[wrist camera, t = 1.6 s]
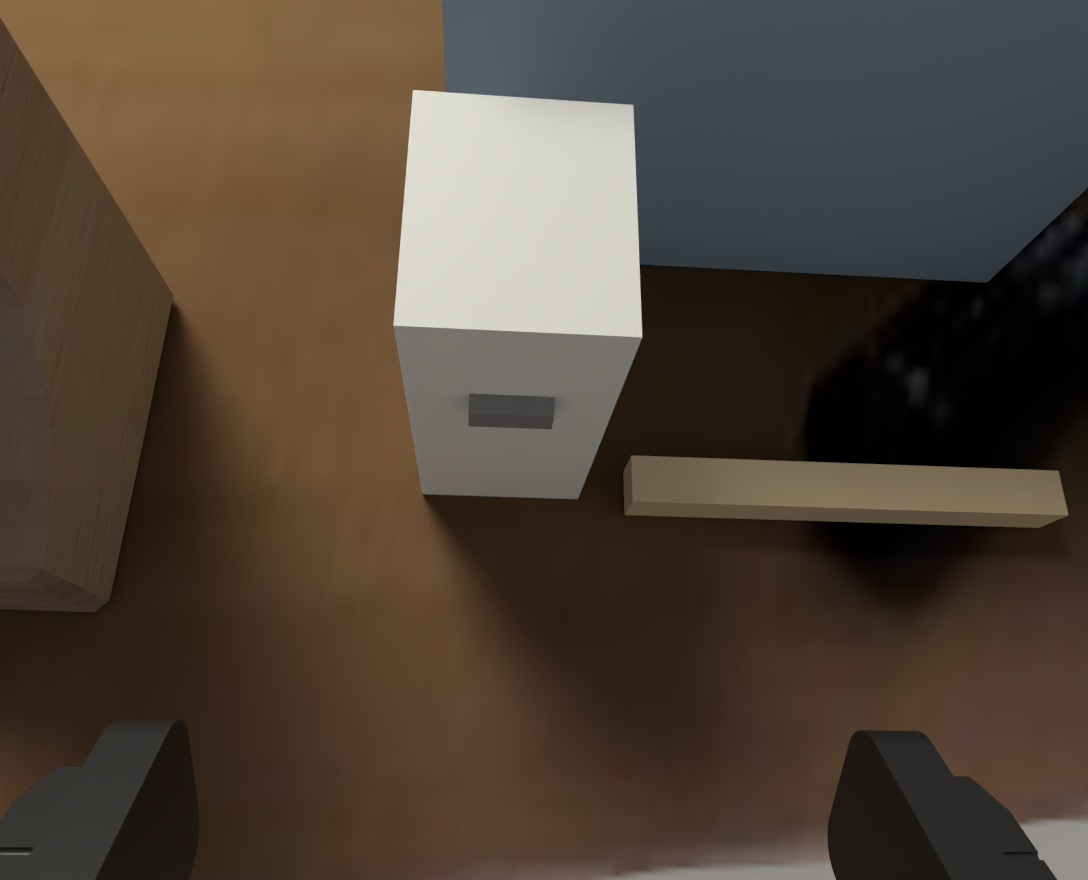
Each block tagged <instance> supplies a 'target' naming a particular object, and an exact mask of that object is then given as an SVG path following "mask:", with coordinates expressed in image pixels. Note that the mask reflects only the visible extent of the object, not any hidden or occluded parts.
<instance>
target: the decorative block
mask: <svg viewBox="0 0 1088 880" xmlns="http://www.w3.org/2000/svg"><path fill="white" fill-rule="evenodd" d="M172 300H173V294H172V292H171V291H170V289H169V287H168V286H167V284H166V283H165V281H164V279H163V278H162V276H161V274H160V273H159V271H158V270H157V268H156V266H155V265H154V263H153V262H152V260H151V258H150V257H149V255H148V253H147V252H146V250H145V249H144V247H143V245H142V244H141V242H140V241H139V239H138V237H137V236H136V234H135V232H134V231H133V229H132V228H131V226H130V224H129V223H128V221H127V220H126V218H125V216H124V215H123V213H122V211H121V210H120V208H119V207H118V205H117V203H116V202H115V200H114V199H113V197H112V195H111V194H110V192H109V191H108V189H107V187H106V186H105V184H104V183H103V181H102V180H101V178H100V176H99V175H98V173H97V172H96V170H95V168H94V167H93V165H92V164H91V162H90V160H89V159H88V157H87V156H86V154H85V153H84V151H83V149H82V148H81V146H80V145H79V143H78V141H77V140H76V138H75V137H74V135H73V133H72V132H71V130H70V129H69V127H68V126H67V124H66V122H65V121H64V119H63V118H62V116H61V114H60V113H59V111H58V110H57V108H56V106H55V105H54V103H53V102H52V100H51V99H50V97H49V95H48V94H47V92H46V91H45V89H44V87H43V86H42V84H41V83H40V81H39V79H38V78H37V76H36V75H35V73H34V71H33V70H32V68H31V67H30V65H29V63H28V62H27V60H26V59H25V57H24V55H23V54H22V52H21V51H20V49H19V47H18V46H17V44H16V42H15V41H14V39H13V38H12V36H11V34H10V33H9V31H8V30H7V28H6V26H5V25H4V23H3V22H2V20H1V18H0V609H11V610H41V611H70V612H95V611H97V610H98V609H99V608H100V607H102V606H103V605H104V604H106V603H107V602H108V601H109V600H110V596H111V591H112V587H113V582H114V577H115V572H116V568H117V563H118V558H119V554H120V549H121V544H122V539H123V535H124V530H125V525H126V520H127V516H128V511H129V506H130V502H131V497H132V492H133V487H134V483H135V478H136V473H137V469H138V464H139V459H140V454H141V450H142V445H143V440H144V435H145V430H146V426H147V421H148V416H149V411H150V406H151V401H152V397H153V392H154V387H155V382H156V377H157V372H158V367H159V363H160V358H161V353H162V348H163V343H164V338H165V334H166V329H167V324H168V319H169V314H170V309H171V305H172Z"/></svg>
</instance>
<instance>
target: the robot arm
mask: <svg viewBox="0 0 1088 880" xmlns="http://www.w3.org/2000/svg"><path fill="white" fill-rule="evenodd" d="M198 837H199V810H198V803H197V795H196V788H195V780H194V773H193V766H192V758H191V751H190V744H189V736H188V730H187V727H186V725H185V723H184V722H183V721H182V720H158V719H115V720H113V721H111V722H110V723H109V724H108V725H107V726H106V727H105V729H104V730H103V732H102V734H101V735H100V737H99V739H98V740H97V742H96V744H95V745H94V747H93V749H92V750H91V752H90V754H89V755H88V757H87V759H86V760H85V762H84V764H83V765H82V767H55V768H54V769H53V770H51V771H50V772H49V773H48V774H47V775H45V776H44V777H43V778H42V779H41V780H40V781H38V782H37V783H36V784H35V785H34V786H32V787H31V788H30V789H29V790H28V791H26V792H25V793H24V794H23V795H22V796H21V797H19V798H18V799H17V800H16V801H15V802H13V803H12V805H11V806H10V808H9V809H8V811H7V812H6V814H5V815H4V817H3V818H2V820H1V821H0V880H188V879H189V877H190V874H191V871H192V867H193V864H194V860H195V856H196V850H197V845H198ZM828 849H829V856H830V861H831V865H832V869H833V872H834V875H835V877H836V880H1057V879H1056V878H1055V876H1054V875H1053V873H1052V872H1051V870H1050V869H1049V867H1048V866H1047V865H1046V863H1045V862H1044V860H1039V858H1038V855H1037V854H1038V851H1037V850H1036V849H1035V847H1034V846H1033V844H1032V843H1031V841H1030V840H1029V839H1028V837H1027V836H1026V834H1025V833H1024V831H1023V830H1022V828H1021V827H1020V825H1019V824H1018V823H1017V821H1016V820H1015V818H1014V817H1013V815H1012V814H1011V812H1010V811H1009V810H1008V809H1006V808H1005V807H1004V806H1003V805H1002V804H1001V803H999V802H998V801H997V800H996V799H995V798H994V797H992V796H991V795H990V794H989V793H988V792H987V791H985V790H984V789H983V788H982V787H981V786H980V785H978V784H977V783H976V782H975V781H974V780H973V779H971V778H970V777H956V776H953V775H952V773H951V772H950V770H949V769H948V767H947V766H946V764H945V762H944V761H943V759H942V758H941V756H940V755H939V753H938V752H937V750H936V749H935V747H934V745H933V744H932V742H931V741H930V740H929V738H928V737H927V736H926V735H925V734H923V733H921V732H919V731H871V730H860V731H857V732H855V733H854V734H853V736H852V738H851V740H850V743H849V746H848V750H847V753H846V757H845V761H844V765H843V768H842V772H841V776H840V780H839V783H838V787H837V791H836V795H835V798H834V802H833V806H832V810H831V813H830V817H829V822H828Z"/></svg>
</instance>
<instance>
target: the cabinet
mask: <svg viewBox="0 0 1088 880" xmlns="http://www.w3.org/2000/svg"><path fill="white" fill-rule="evenodd" d="M394 331H395V337H396V343H397V349H398V355H399V360H400V366H401V372H402V378H403V384H404V390H405V396H406V401H407V407H408V413H409V419H410V425H411V431H412V436H413V442H414V448H415V454H416V460H417V466H418V472H419V477H420V483H421V489H422V494H432V495H463V496H494V497H525V498H556V499H578V498H579V495H580V493H581V490H582V488H583V485H584V483H585V480H586V478H587V475H588V473H589V470H590V468H591V465H592V463H593V460H594V458H595V455H596V453H597V450H598V448H599V445H600V443H601V440H602V438H603V435H604V432H605V430H606V427H607V425H608V422H609V420H610V417H611V415H612V412H613V410H614V407H615V405H616V402H617V400H618V397H619V395H620V392H621V390H622V387H623V385H624V382H625V380H626V377H627V375H628V372H629V370H630V367H631V365H632V362H633V360H634V357H635V355H636V352H637V350H638V347H639V344H640V342H641V339H642V315H641V289H640V264H639V238H638V212H637V187H636V161H635V135H634V109H633V105H628V104H613V103H598V102H583V101H568V100H553V99H538V98H523V97H508V96H493V95H478V94H463V93H448V92H433V91H418V90H413V97H412V109H411V121H410V133H409V145H408V157H407V170H406V182H405V194H404V206H403V218H402V230H401V242H400V254H399V266H398V278H397V290H396V302H395V314H394Z"/></svg>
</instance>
